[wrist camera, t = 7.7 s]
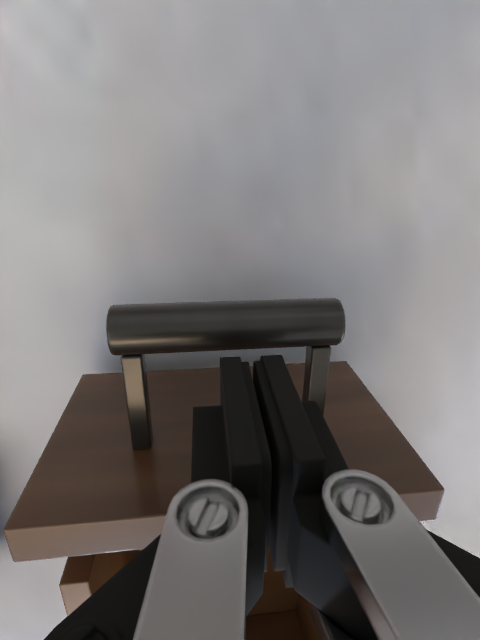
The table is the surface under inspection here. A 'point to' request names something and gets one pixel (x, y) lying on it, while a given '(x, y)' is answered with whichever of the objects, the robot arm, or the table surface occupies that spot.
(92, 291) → the table surface
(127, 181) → the table surface
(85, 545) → the drawer
